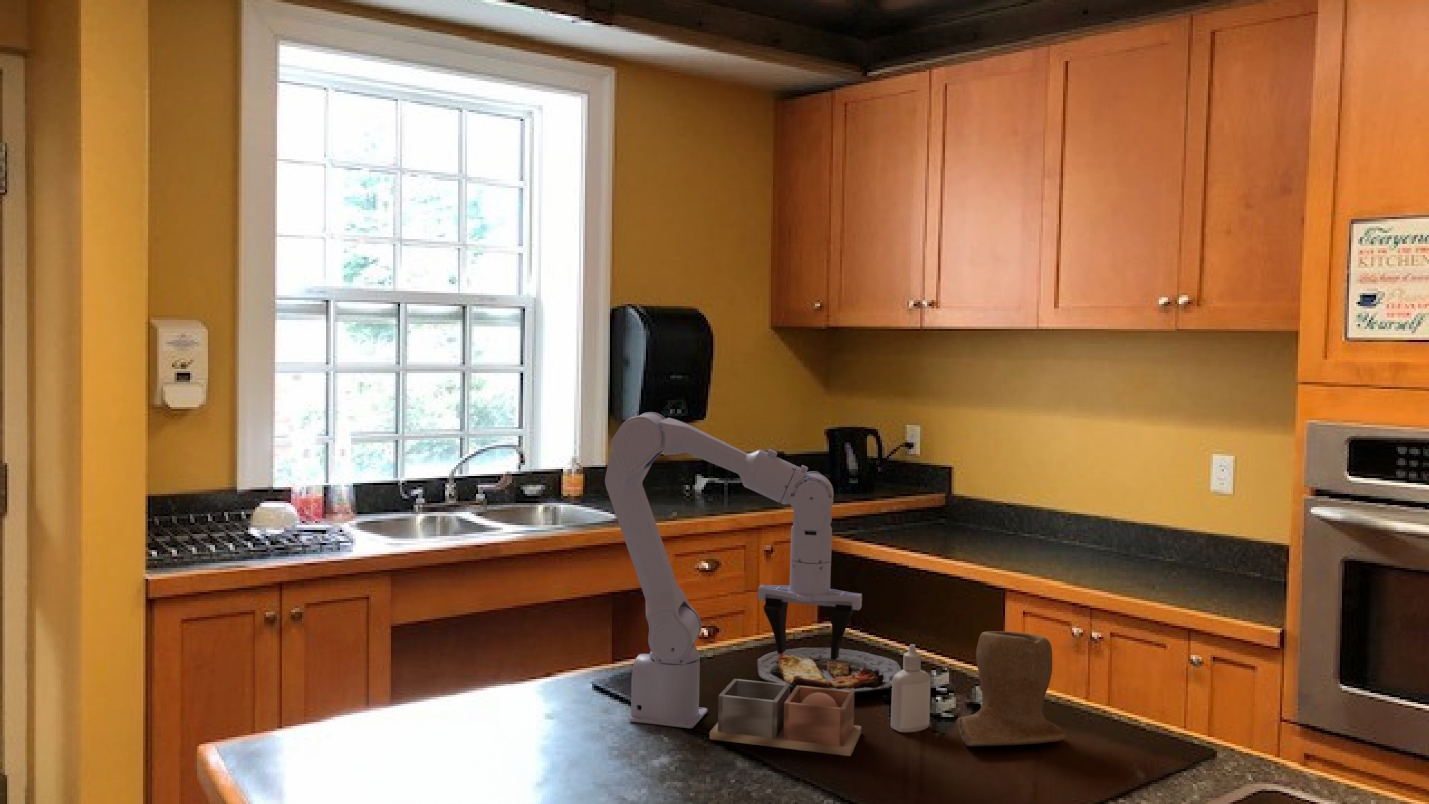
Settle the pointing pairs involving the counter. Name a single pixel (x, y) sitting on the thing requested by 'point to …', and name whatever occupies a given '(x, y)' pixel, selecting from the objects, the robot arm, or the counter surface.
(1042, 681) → the brown flared upright piece
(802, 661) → the food plate
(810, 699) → the terracotta ball
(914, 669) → the eye dropper bottle
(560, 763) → the counter surface
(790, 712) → the sorting bin tray
